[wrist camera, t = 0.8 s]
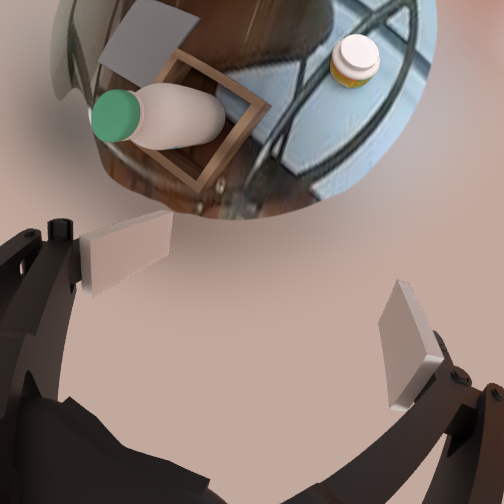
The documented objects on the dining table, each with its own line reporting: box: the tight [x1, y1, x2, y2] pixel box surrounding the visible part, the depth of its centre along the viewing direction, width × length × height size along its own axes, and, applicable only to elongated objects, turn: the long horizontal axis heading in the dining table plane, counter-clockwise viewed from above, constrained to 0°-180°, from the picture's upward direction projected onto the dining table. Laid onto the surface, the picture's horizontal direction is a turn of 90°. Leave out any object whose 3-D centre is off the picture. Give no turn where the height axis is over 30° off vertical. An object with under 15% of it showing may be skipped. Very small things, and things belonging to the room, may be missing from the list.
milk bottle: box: [91, 83, 225, 150], centre depth 27 cm, size 8×8×20 cm
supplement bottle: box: [330, 34, 380, 88], centre depth 25 cm, size 5×5×10 cm
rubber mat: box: [97, 0, 201, 88], centre depth 32 cm, size 14×14×1 cm
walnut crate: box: [129, 48, 272, 194], centre depth 34 cm, size 14×14×5 cm
